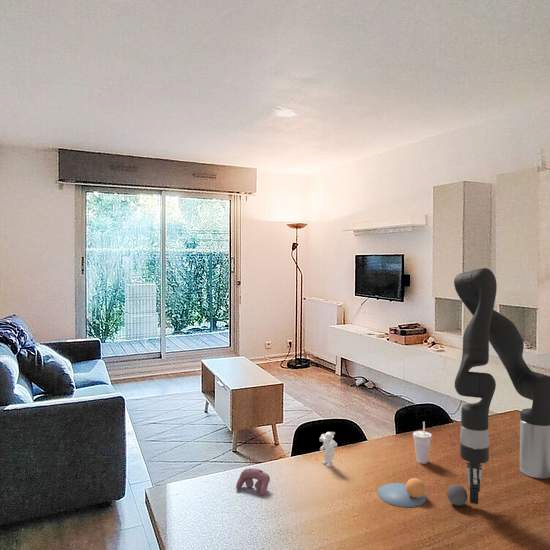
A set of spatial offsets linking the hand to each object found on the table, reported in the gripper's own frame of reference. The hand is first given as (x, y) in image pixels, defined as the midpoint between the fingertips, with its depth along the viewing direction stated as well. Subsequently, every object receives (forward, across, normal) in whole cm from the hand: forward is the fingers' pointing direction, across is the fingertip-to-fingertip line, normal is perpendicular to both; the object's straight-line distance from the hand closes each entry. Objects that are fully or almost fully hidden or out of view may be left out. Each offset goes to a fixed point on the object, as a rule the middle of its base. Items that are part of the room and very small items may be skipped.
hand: (473, 502), depth 131 cm
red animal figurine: (+2, +12, -63) cm, 64 cm away
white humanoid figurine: (+2, -13, -46) cm, 48 cm away
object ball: (-1, 0, -16) cm, 16 cm away
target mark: (+2, 0, -20) cm, 20 cm away
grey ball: (-1, 0, -4) cm, 5 cm away
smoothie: (+2, -27, -16) cm, 31 cm away
